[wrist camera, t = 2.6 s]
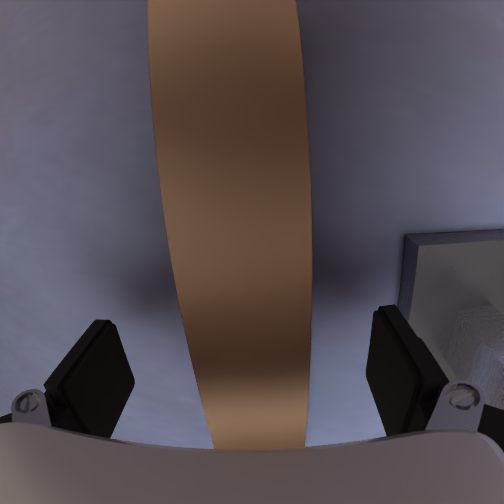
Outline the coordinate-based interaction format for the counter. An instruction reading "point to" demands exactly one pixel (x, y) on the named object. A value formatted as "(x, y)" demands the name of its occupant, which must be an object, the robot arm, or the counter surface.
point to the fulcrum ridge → (458, 304)
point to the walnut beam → (237, 208)
